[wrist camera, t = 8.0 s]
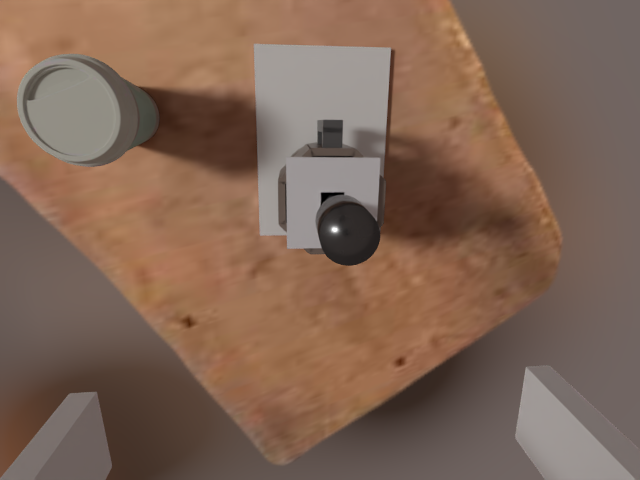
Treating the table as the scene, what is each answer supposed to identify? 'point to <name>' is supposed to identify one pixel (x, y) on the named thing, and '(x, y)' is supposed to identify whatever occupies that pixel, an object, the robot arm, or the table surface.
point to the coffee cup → (84, 110)
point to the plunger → (346, 229)
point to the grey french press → (325, 184)
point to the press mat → (315, 107)
